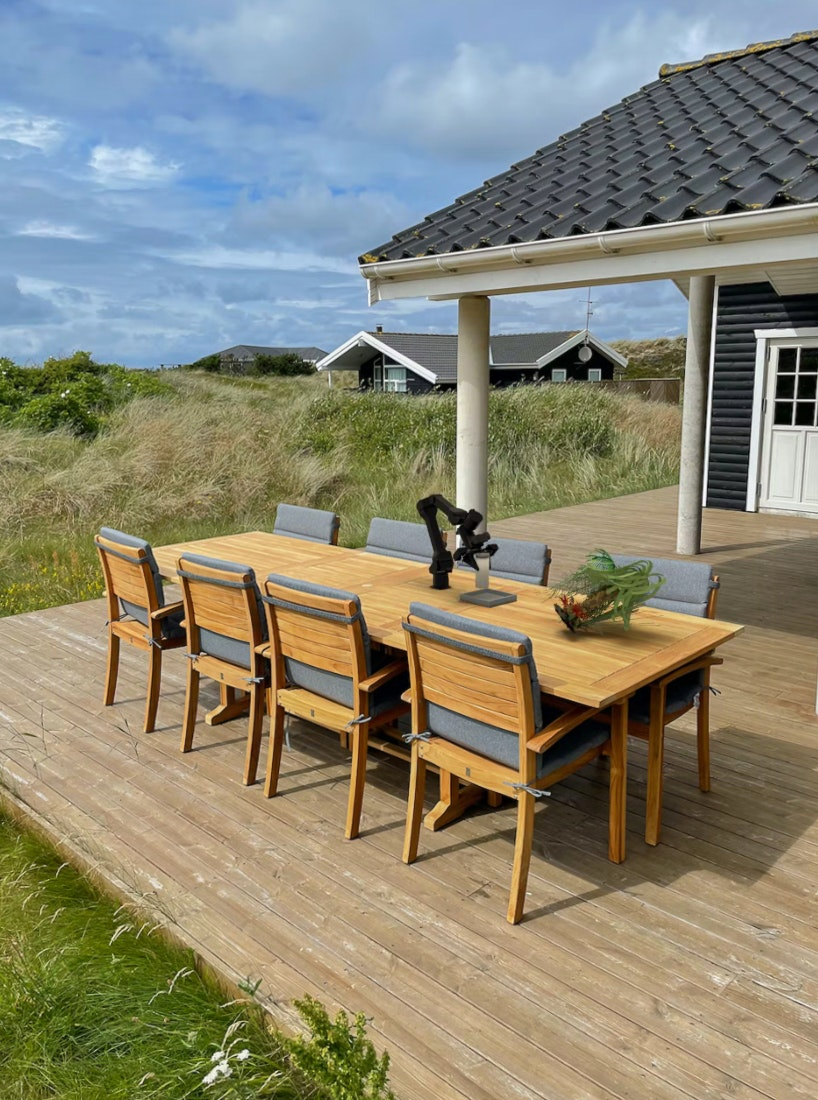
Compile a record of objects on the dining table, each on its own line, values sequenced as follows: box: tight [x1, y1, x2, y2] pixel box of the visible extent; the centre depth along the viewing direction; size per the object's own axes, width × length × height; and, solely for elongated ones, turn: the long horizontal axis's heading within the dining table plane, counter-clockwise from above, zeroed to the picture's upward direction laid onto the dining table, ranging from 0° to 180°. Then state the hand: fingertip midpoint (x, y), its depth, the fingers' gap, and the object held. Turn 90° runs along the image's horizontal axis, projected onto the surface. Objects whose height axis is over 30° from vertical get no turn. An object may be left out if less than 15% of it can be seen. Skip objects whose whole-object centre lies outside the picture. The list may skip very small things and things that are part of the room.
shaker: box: [475, 552, 491, 590], centre depth 336 cm, size 5×5×14 cm
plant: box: [534, 548, 667, 636], centre depth 294 cm, size 35×35×40 cm
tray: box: [459, 587, 518, 609], centre depth 342 cm, size 16×16×2 cm
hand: (484, 569), depth 335 cm, fingers closed on shaker, 5 cm apart
